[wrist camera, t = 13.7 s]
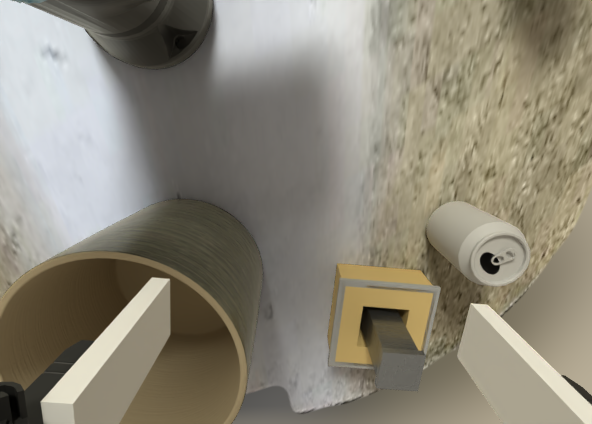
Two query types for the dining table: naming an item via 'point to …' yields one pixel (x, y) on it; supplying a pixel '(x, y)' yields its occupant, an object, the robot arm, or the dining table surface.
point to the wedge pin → (391, 349)
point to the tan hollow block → (377, 293)
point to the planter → (126, 285)
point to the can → (478, 243)
